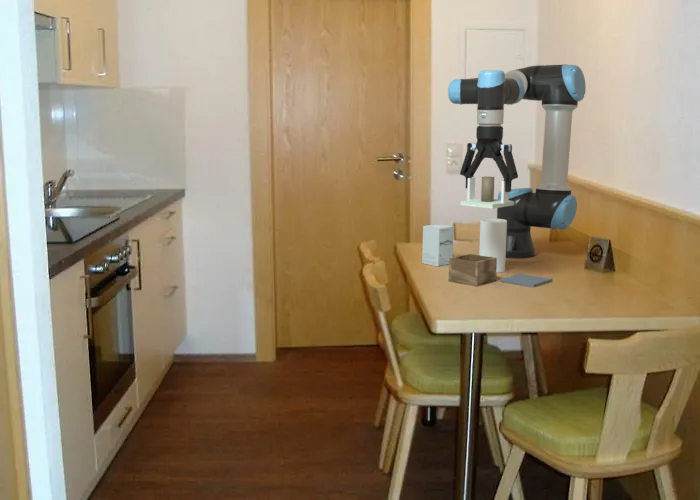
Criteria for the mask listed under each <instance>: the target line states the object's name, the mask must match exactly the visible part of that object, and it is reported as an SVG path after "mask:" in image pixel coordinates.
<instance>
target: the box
mask: <svg viewBox="0 0 700 500" xmlns="http://www.w3.org/2000/svg"><path fill="white" fill-rule="evenodd" d="M496 266H497V258H494V257H487V256H480V255H479V254H474V253H473V254H472V253H465V254H461V255H457V256H453V257H452V258H449V264H448V282H449V283H457V284H463V285H467V286H472V287H481V286H484V285H488V284H490V283H494V282H496V281H497V273H496Z"/></svg>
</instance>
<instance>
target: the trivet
mask: <svg viewBox="0 0 700 500" xmlns="http://www.w3.org/2000/svg"><path fill="white" fill-rule="evenodd" d="M499 282H500V283H503V284H504V283H505V284H510V285H517V286H522V285H523V287H529V288H537V287H538V286H539V285H540V286H543V285H546V284H549V283H552V282H553V278H549V277H543V276H535V275H530V274H525V273H524V274H523V273H518V274H515V275H511V276H506V277H504V278H500V281H499ZM545 283H546V284H545ZM542 284H543V285H542Z"/></svg>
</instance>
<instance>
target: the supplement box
mask: <svg viewBox="0 0 700 500" xmlns="http://www.w3.org/2000/svg"><path fill="white" fill-rule="evenodd" d="M454 230H455V229H454V226H453V225H447V224H429V225H423V226H422V253H421V254H422V255H421V257H422V258H421V263H422V264H425V265H427V266H428V265H429V266H434V267H440V266H441V267H442V266H446V265H449V258H452V257H454V255H453V254H454Z"/></svg>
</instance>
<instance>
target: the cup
mask: <svg viewBox="0 0 700 500" xmlns="http://www.w3.org/2000/svg"><path fill="white" fill-rule="evenodd" d="M506 234H507V220H504V219H497V218H481V219H480V221H479V248H478V250H479V252H478V253H479V254H478V255H480V256H487V257H494V258H497V266H496V274H497V273H498V274H501V273H504V272H505V271H506V259H507V258H506Z"/></svg>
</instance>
